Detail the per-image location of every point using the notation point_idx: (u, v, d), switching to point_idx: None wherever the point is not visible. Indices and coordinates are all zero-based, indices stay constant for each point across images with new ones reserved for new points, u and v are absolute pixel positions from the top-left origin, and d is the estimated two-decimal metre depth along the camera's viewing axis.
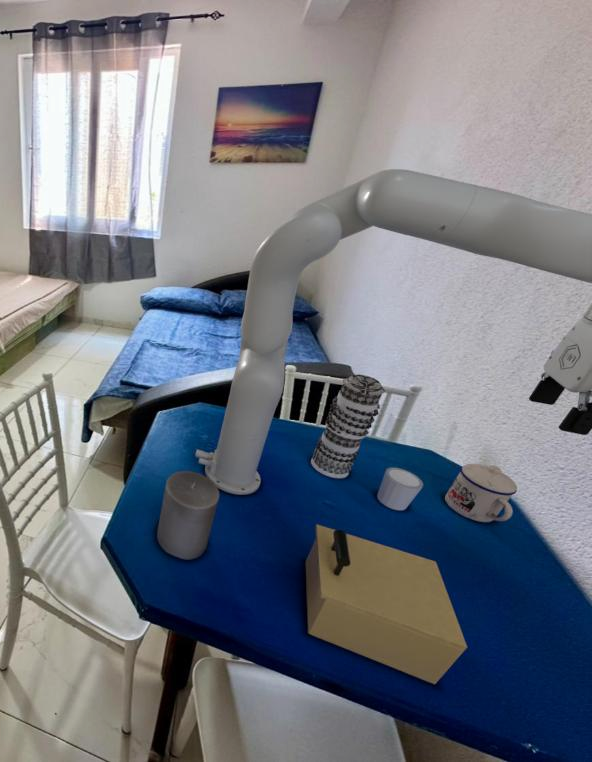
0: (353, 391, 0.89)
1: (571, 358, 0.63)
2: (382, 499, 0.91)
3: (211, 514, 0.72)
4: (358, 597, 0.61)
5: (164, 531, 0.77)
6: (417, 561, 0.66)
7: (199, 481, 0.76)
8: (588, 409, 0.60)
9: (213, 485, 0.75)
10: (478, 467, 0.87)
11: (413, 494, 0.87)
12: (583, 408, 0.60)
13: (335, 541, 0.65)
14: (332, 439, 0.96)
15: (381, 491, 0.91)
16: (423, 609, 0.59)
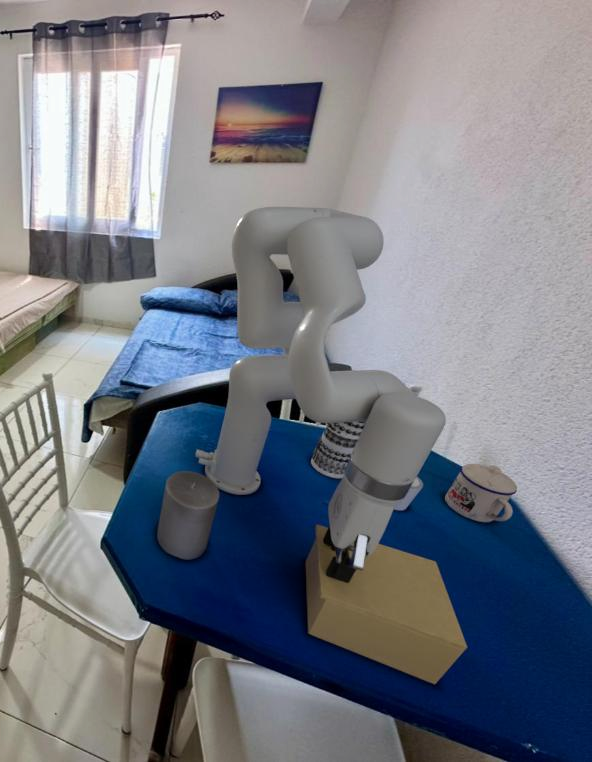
0: None
1: (338, 508, 0.61)
2: None
3: (211, 514, 0.72)
4: (358, 597, 0.61)
5: (164, 531, 0.77)
6: (417, 561, 0.66)
7: (199, 481, 0.76)
8: (341, 563, 0.60)
9: (213, 485, 0.75)
10: (478, 467, 0.87)
11: (413, 494, 0.87)
12: (337, 561, 0.61)
13: None
14: (332, 439, 0.96)
15: None
16: (423, 609, 0.59)
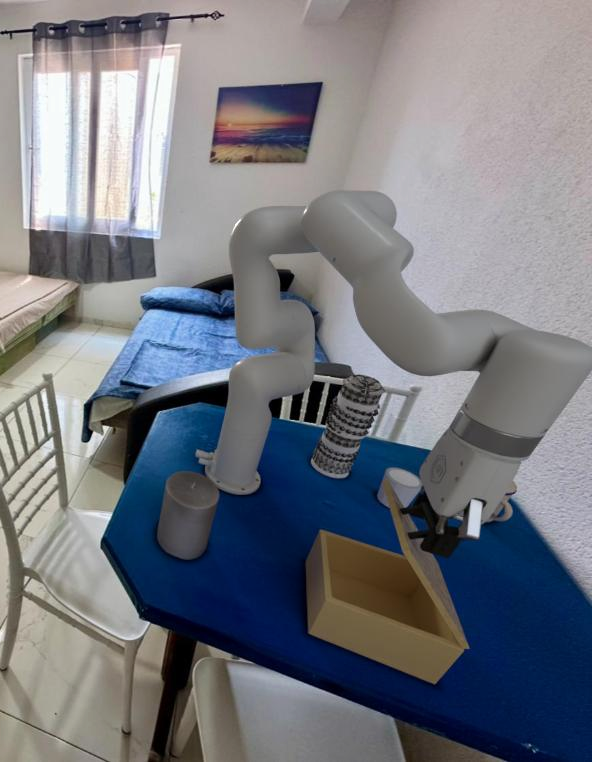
0: (353, 391, 0.89)
1: (439, 471, 0.53)
2: (382, 499, 0.91)
3: (211, 514, 0.72)
4: (423, 568, 0.54)
5: (164, 531, 0.77)
6: (432, 556, 0.65)
7: (199, 481, 0.76)
8: (444, 534, 0.52)
9: (213, 485, 0.75)
10: None
11: (413, 494, 0.87)
12: (439, 532, 0.52)
13: (430, 510, 0.57)
14: (332, 439, 0.96)
15: (381, 491, 0.91)
16: (447, 602, 0.57)
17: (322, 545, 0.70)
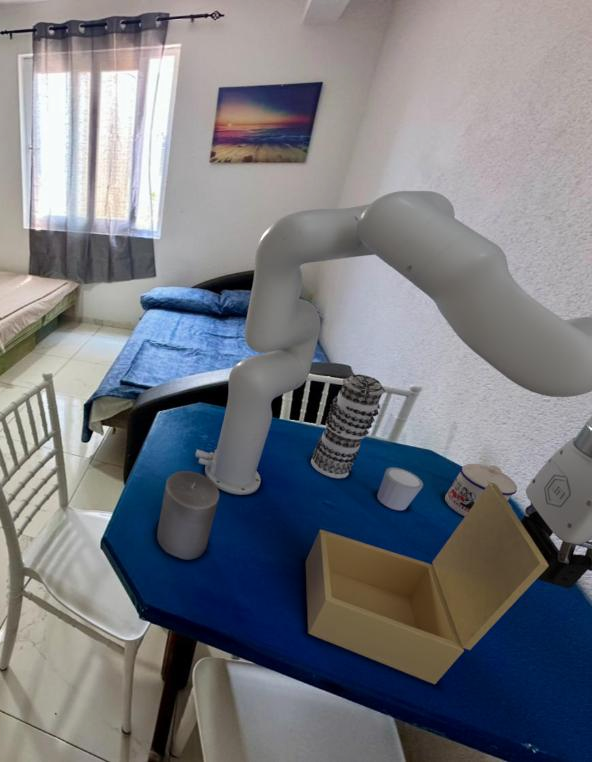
0: (353, 391, 0.89)
1: (559, 493, 0.49)
2: (382, 499, 0.91)
3: (211, 514, 0.72)
4: None
5: (164, 531, 0.77)
6: None
7: (199, 481, 0.76)
8: (570, 563, 0.47)
9: (213, 485, 0.75)
10: (478, 467, 0.87)
11: (413, 494, 0.87)
12: (564, 560, 0.48)
13: (546, 534, 0.52)
14: (332, 439, 0.96)
15: (381, 491, 0.91)
16: None
17: (322, 545, 0.70)
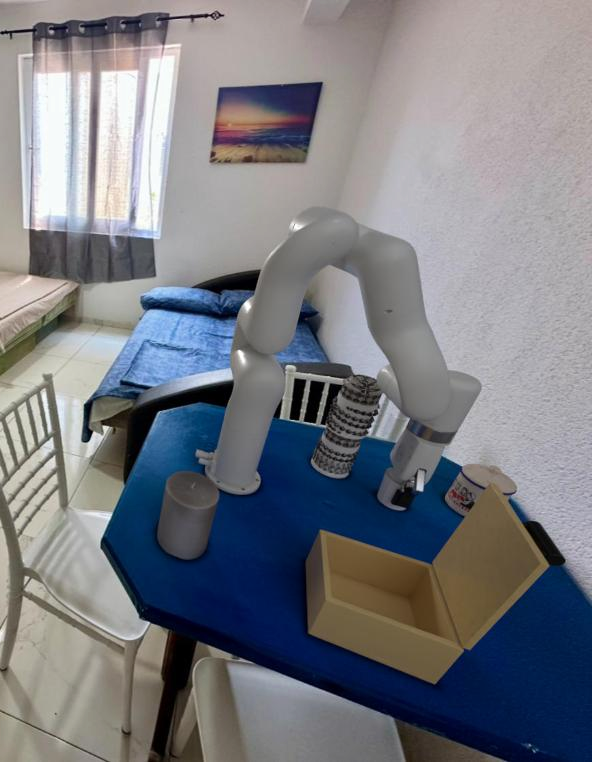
0: (353, 391, 0.89)
1: (400, 453, 0.86)
2: (382, 499, 0.91)
3: (211, 514, 0.72)
4: None
5: (164, 531, 0.77)
6: None
7: (199, 481, 0.76)
8: (404, 492, 0.85)
9: (213, 485, 0.75)
10: (478, 467, 0.87)
11: None
12: (401, 491, 0.85)
13: (546, 534, 0.52)
14: (332, 439, 0.96)
15: (381, 491, 0.91)
16: None
17: (322, 545, 0.70)
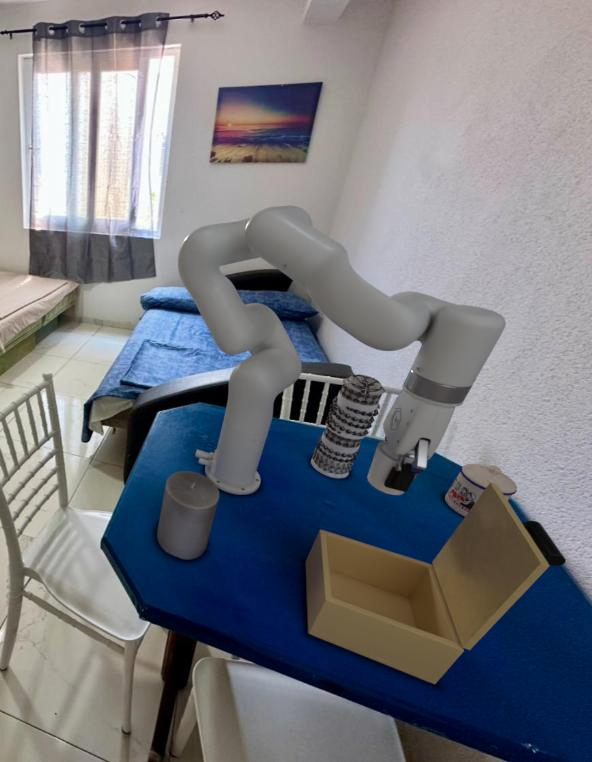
0: (353, 391, 0.89)
1: (396, 420, 0.67)
2: (374, 481, 0.71)
3: (211, 514, 0.72)
4: None
5: (164, 531, 0.77)
6: None
7: (199, 481, 0.76)
8: (402, 470, 0.65)
9: (213, 485, 0.75)
10: (478, 467, 0.87)
11: None
12: (398, 469, 0.65)
13: (546, 534, 0.52)
14: (332, 439, 0.96)
15: (372, 471, 0.71)
16: None
17: (322, 545, 0.70)
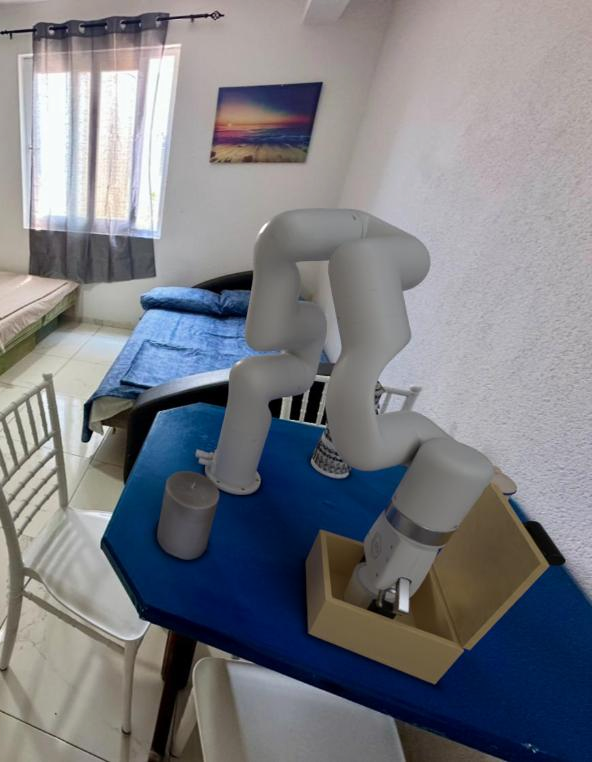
0: None
1: (376, 547, 0.62)
2: None
3: (211, 514, 0.72)
4: None
5: (164, 531, 0.77)
6: None
7: (199, 481, 0.76)
8: (382, 607, 0.59)
9: (213, 485, 0.75)
10: None
11: None
12: (378, 605, 0.60)
13: (546, 534, 0.52)
14: None
15: (348, 593, 0.68)
16: None
17: (322, 545, 0.70)
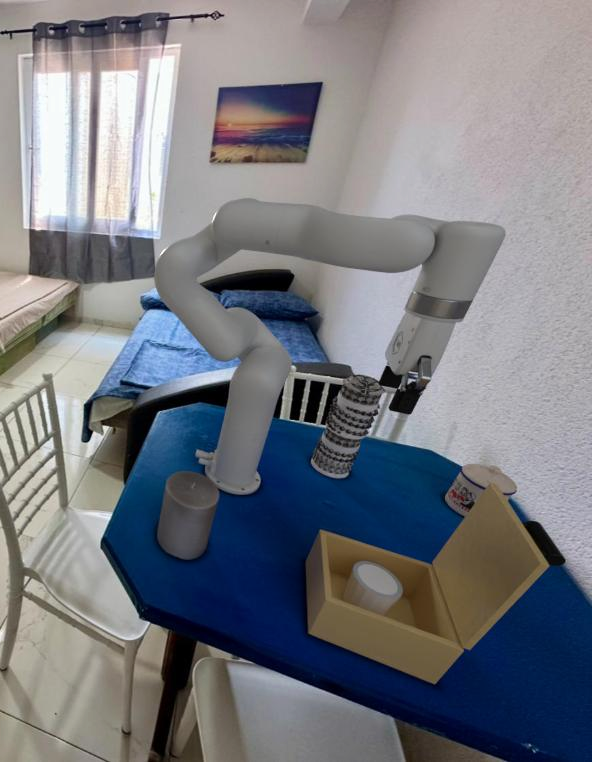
0: (353, 391, 0.89)
1: (398, 344, 0.68)
2: None
3: (211, 514, 0.72)
4: None
5: (164, 531, 0.77)
6: None
7: (199, 481, 0.76)
8: (406, 390, 0.65)
9: (213, 485, 0.75)
10: (478, 467, 0.87)
11: (389, 604, 0.64)
12: (402, 389, 0.65)
13: (546, 534, 0.52)
14: (332, 439, 0.96)
15: (348, 593, 0.68)
16: None
17: (322, 545, 0.70)
